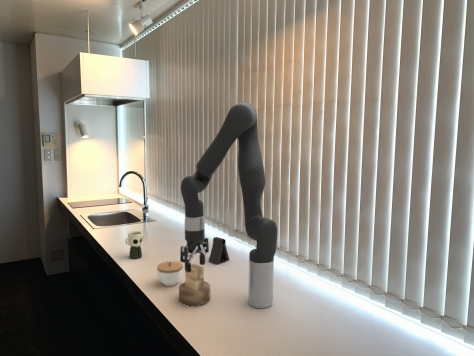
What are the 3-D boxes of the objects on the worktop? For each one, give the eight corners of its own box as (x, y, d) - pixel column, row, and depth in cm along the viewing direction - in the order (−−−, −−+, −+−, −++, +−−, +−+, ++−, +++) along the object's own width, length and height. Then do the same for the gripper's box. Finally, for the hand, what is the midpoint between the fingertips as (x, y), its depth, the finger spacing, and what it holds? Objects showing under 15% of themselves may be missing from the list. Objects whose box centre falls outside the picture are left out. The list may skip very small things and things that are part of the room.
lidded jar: (167, 290, 143) (167, 268, 142) (152, 283, 150) (151, 262, 149) (187, 282, 151) (187, 261, 150) (172, 275, 158) (172, 255, 157)
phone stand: (217, 265, 172) (217, 241, 170) (208, 262, 175) (208, 238, 174) (229, 260, 178) (229, 237, 177) (221, 257, 182) (221, 235, 181)
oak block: (193, 282, 139) (193, 263, 138) (203, 285, 136) (203, 266, 135) (185, 287, 135) (185, 267, 134) (195, 290, 132) (195, 270, 131)
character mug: (129, 261, 174) (128, 236, 173) (122, 258, 179) (121, 233, 178) (148, 256, 182) (148, 232, 181) (141, 253, 187) (141, 229, 185)
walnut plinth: (192, 289, 144) (192, 277, 144) (216, 296, 138) (216, 284, 137) (172, 301, 134) (172, 288, 133) (197, 309, 128) (197, 296, 127)
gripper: (198, 221, 141) (199, 260, 143) (174, 230, 129) (175, 272, 131) (213, 224, 137) (214, 264, 139) (190, 233, 125) (190, 276, 127)
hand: (195, 268), depth 135 cm, fingers open, 8 cm apart
